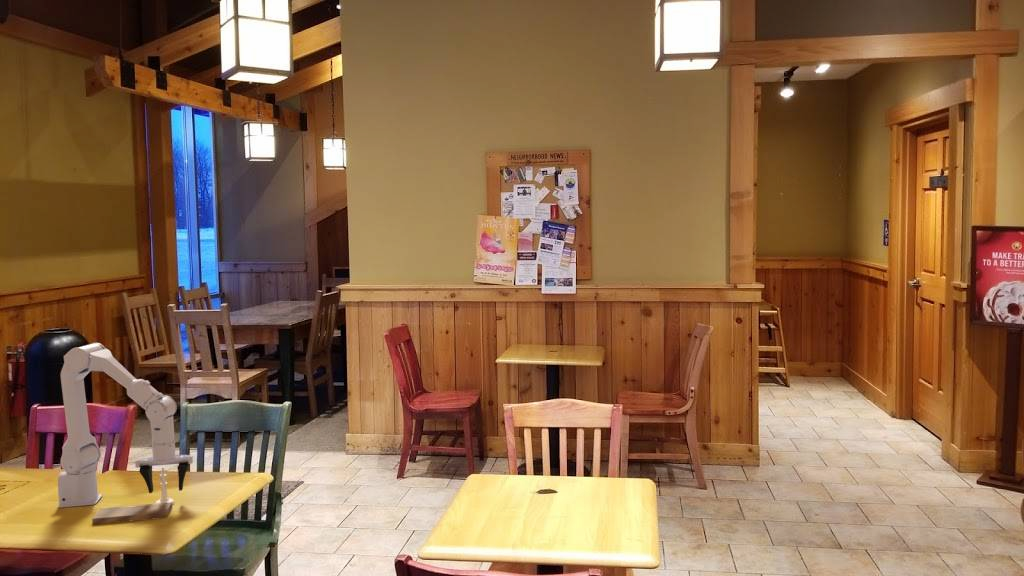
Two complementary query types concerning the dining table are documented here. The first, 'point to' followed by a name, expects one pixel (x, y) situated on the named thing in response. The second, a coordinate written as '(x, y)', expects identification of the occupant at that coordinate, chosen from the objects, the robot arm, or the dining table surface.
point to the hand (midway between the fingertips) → (166, 490)
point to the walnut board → (132, 513)
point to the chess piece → (164, 489)
